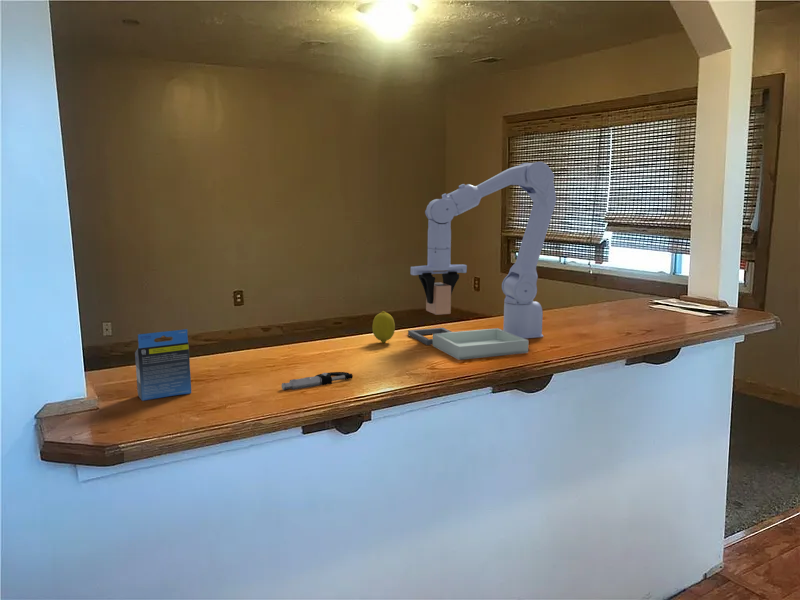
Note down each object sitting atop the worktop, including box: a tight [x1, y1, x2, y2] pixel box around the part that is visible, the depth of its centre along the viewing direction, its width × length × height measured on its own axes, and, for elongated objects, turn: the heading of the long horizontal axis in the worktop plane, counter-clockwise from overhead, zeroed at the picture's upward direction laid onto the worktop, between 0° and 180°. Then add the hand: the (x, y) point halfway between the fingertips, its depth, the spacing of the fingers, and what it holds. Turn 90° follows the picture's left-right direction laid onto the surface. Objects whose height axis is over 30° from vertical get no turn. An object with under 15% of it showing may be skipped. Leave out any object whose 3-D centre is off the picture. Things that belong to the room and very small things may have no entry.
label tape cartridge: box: [134, 328, 192, 402], centre depth 121 cm, size 9×4×12 cm, turn 121°
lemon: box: [371, 310, 396, 344], centre depth 163 cm, size 6×6×8 cm
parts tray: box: [432, 327, 529, 361], centre depth 157 cm, size 18×14×3 cm
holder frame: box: [407, 327, 453, 346], centre depth 169 cm, size 10×12×1 cm
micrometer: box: [281, 371, 354, 391], centre depth 131 cm, size 15×7×3 cm, turn 121°
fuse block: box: [425, 282, 452, 316], centre depth 166 cm, size 4×6×7 cm, turn 22°
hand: (438, 302), depth 166 cm, fingers closed on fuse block, 4 cm apart
